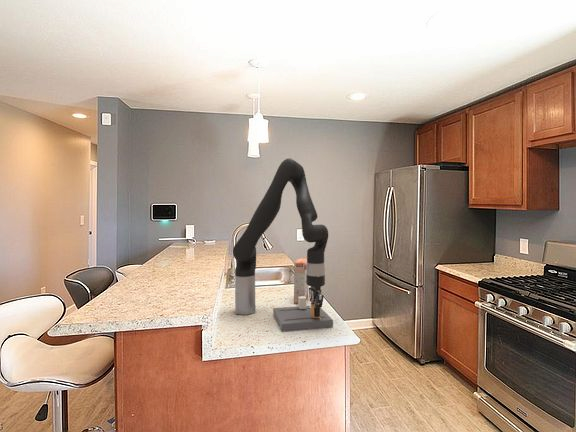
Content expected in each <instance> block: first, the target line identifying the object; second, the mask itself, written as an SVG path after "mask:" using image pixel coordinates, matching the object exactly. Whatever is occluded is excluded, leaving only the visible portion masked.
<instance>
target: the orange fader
mask: <svg viewBox="0 0 576 432" xmlns="http://www.w3.org/2000/svg"><path fill="white" fill-rule="evenodd" d="M310 305H311V316H312V317H313V318H320V316H319V317H315V316H314V304H311V303H310Z"/></svg>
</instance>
